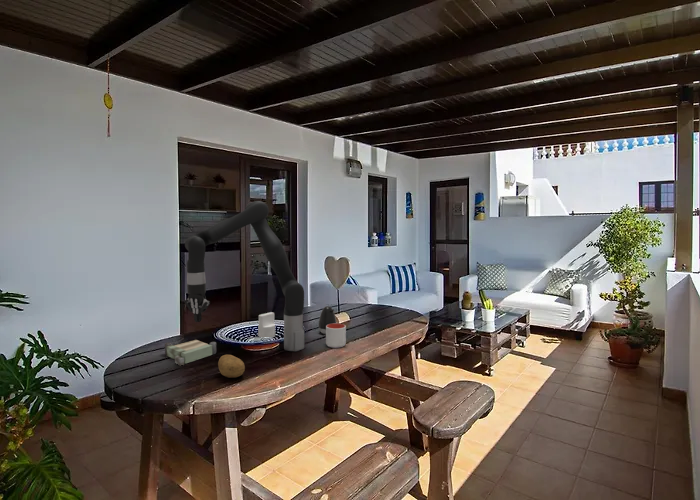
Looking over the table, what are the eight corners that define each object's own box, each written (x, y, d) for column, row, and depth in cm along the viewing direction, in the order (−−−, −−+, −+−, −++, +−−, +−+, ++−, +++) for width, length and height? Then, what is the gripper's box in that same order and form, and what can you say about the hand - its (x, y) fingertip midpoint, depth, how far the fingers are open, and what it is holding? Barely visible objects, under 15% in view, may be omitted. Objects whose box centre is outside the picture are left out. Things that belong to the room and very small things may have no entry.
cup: (348, 343, 206) (349, 324, 205) (340, 349, 197) (340, 329, 196) (331, 341, 210) (331, 322, 209) (322, 346, 201) (322, 327, 200)
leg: (213, 351, 192) (213, 341, 191) (217, 352, 190) (217, 342, 190) (181, 362, 178) (181, 351, 177) (185, 363, 176) (185, 352, 176)
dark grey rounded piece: (326, 337, 217) (326, 309, 216) (314, 332, 225) (314, 305, 223) (340, 333, 224) (340, 306, 222) (329, 329, 231) (329, 303, 230)
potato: (228, 385, 155) (228, 365, 154) (212, 374, 165) (212, 355, 164) (251, 378, 161) (251, 359, 161) (234, 368, 172) (234, 350, 171)
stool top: (215, 355, 187) (215, 344, 187) (180, 366, 174) (180, 354, 173) (193, 346, 199) (192, 336, 199) (158, 355, 186) (158, 344, 185)
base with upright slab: (265, 339, 212) (265, 317, 211) (254, 336, 217) (254, 314, 216) (278, 335, 219) (278, 313, 218) (267, 332, 224) (267, 311, 223)
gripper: (214, 282, 175) (215, 321, 176) (190, 280, 180) (192, 318, 181) (202, 284, 168) (203, 325, 169) (178, 282, 173) (179, 322, 174)
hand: (197, 321), depth 175 cm, fingers closed
